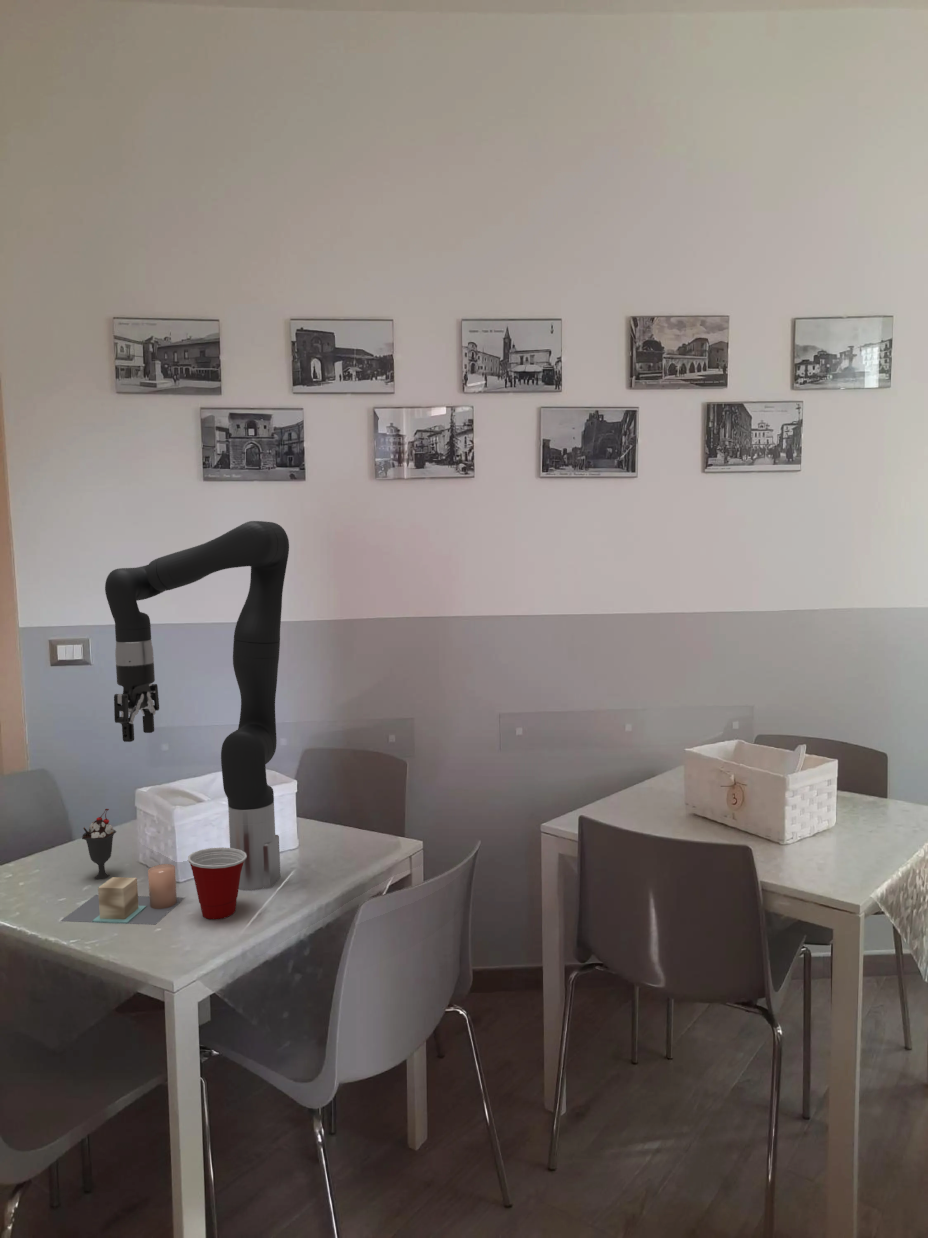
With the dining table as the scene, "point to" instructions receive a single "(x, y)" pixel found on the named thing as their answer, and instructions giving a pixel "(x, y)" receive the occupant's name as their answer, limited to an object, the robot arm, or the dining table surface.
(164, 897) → the terracotta cylinder
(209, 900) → the plastic cup
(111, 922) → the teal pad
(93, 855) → the sundae
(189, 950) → the dining table surface
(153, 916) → the slate mat
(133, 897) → the beech block
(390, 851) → the dining table surface
